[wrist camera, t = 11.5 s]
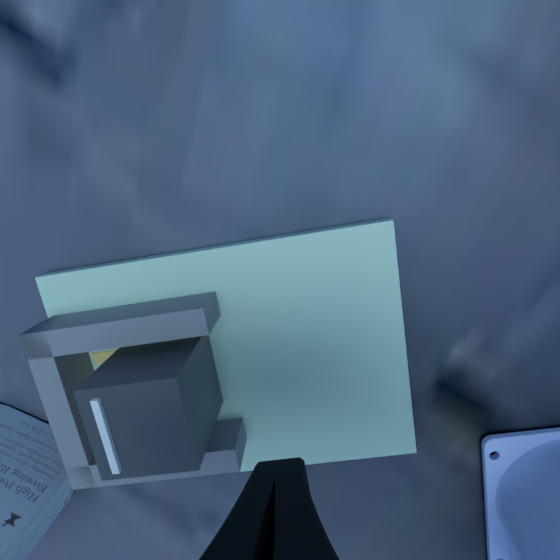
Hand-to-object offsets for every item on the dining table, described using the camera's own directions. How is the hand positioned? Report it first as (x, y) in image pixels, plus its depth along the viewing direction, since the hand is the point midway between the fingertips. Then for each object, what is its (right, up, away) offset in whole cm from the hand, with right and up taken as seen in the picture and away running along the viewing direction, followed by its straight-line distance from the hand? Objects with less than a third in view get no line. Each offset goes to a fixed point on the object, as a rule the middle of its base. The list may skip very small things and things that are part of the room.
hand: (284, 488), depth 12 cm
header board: (-2, +2, +9) cm, 10 cm away
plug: (-5, +2, +9) cm, 10 cm away
